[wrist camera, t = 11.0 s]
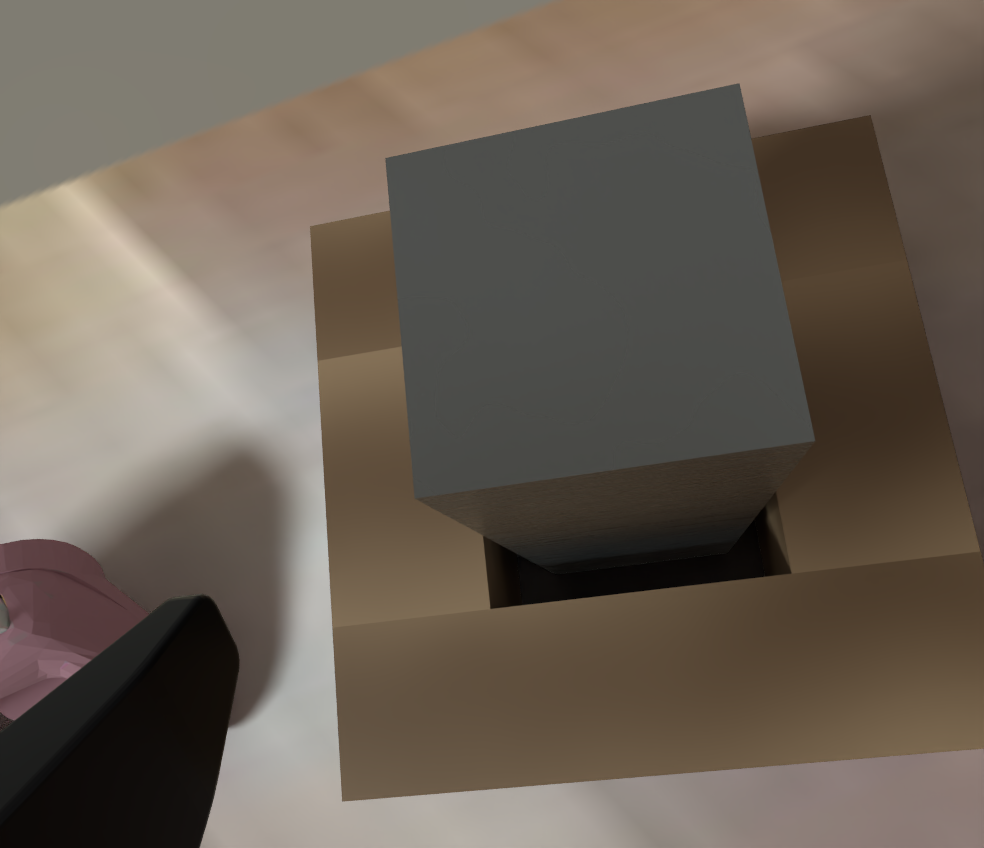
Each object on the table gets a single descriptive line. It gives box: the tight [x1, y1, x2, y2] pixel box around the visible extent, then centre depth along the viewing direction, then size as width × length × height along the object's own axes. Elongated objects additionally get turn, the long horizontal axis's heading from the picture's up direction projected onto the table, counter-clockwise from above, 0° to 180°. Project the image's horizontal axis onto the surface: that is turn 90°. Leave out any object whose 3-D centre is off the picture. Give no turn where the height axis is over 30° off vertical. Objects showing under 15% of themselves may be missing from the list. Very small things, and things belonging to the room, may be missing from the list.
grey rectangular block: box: [385, 84, 815, 575], centre depth 15 cm, size 4×4×12 cm
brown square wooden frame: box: [310, 115, 984, 801], centre depth 19 cm, size 12×12×4 cm
